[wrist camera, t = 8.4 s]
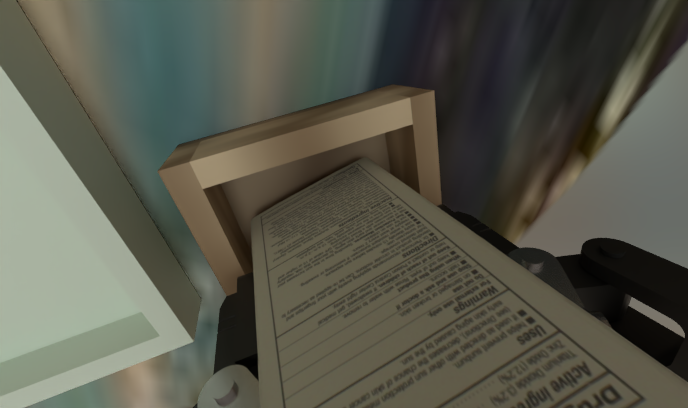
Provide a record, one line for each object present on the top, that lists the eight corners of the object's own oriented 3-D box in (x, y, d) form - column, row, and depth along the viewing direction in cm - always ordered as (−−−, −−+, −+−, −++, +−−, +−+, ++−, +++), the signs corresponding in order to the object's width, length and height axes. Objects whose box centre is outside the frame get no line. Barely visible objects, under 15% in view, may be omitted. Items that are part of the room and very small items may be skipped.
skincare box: (293, 279, 15) (396, 740, 5) (245, 214, 13) (248, 797, 3) (398, 220, 16) (702, 534, 5) (369, 147, 14) (788, 436, 3)
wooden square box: (392, 84, 14) (434, 90, 11) (413, 248, 19) (447, 285, 16) (178, 144, 13) (157, 171, 10) (259, 308, 17) (263, 361, 14)
